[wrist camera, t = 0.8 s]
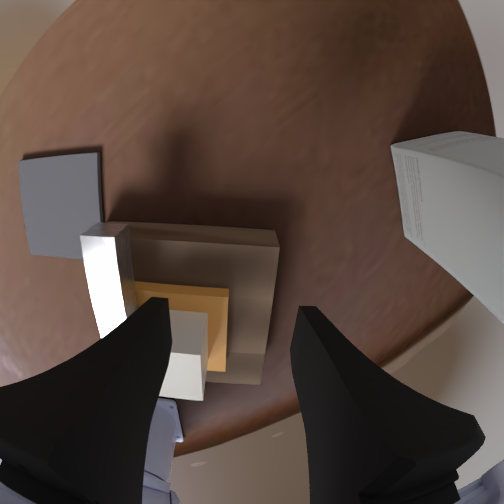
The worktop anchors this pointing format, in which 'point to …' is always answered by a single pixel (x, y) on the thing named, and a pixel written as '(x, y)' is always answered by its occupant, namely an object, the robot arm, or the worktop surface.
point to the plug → (191, 335)
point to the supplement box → (456, 207)
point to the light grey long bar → (109, 273)
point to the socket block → (217, 280)
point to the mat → (60, 202)
